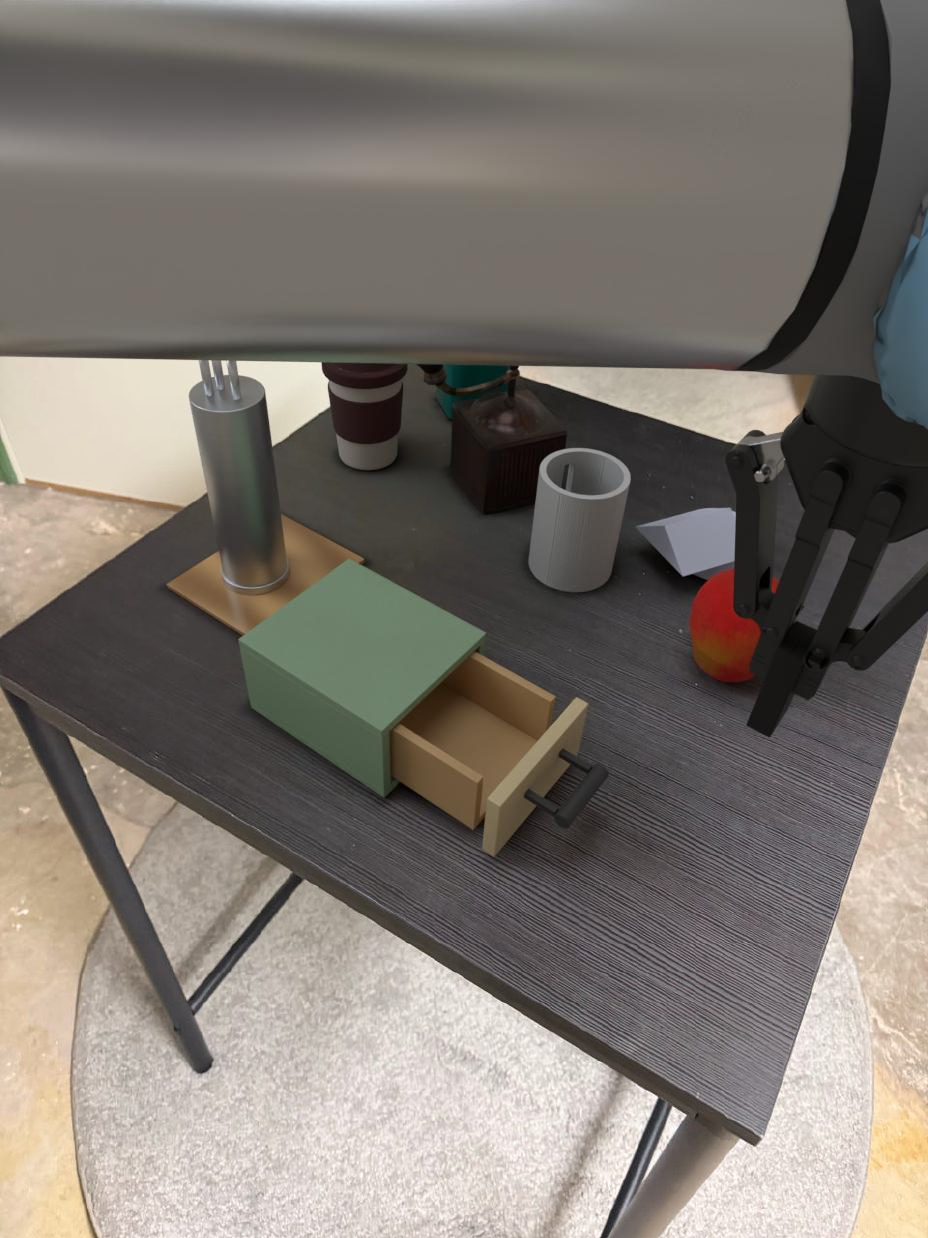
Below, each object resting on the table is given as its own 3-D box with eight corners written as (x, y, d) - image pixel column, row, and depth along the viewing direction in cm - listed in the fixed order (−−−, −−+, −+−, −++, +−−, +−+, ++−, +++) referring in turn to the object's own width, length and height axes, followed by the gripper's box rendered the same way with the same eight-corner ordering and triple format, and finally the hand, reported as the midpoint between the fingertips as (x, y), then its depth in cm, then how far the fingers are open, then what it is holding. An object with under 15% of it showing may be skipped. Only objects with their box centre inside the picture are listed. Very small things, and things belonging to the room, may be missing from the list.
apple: (755, 719, 80) (795, 625, 72) (663, 681, 83) (690, 587, 75) (780, 657, 86) (820, 564, 78) (693, 624, 89) (722, 531, 81)
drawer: (620, 780, 73) (634, 728, 68) (539, 888, 66) (549, 838, 61) (444, 677, 81) (446, 624, 76) (353, 763, 73) (349, 710, 69)
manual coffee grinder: (520, 450, 111) (533, 315, 99) (561, 497, 104) (581, 358, 92) (407, 474, 106) (406, 335, 94) (442, 526, 99) (446, 382, 87)
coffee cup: (377, 426, 114) (374, 316, 104) (423, 460, 109) (425, 348, 98) (313, 451, 109) (303, 338, 99) (358, 487, 104) (352, 372, 94)
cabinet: (481, 700, 80) (486, 632, 74) (384, 798, 72) (381, 731, 66) (353, 625, 87) (349, 557, 81) (251, 707, 79) (237, 639, 72)
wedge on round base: (676, 600, 92) (773, 570, 96) (690, 551, 87) (791, 521, 91) (629, 550, 97) (723, 524, 102) (640, 501, 93) (737, 476, 97)
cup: (576, 604, 91) (593, 510, 82) (511, 563, 95) (521, 470, 87) (627, 565, 95) (648, 474, 87) (563, 528, 100) (577, 438, 92)
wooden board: (255, 644, 84) (254, 640, 84) (167, 588, 90) (166, 583, 89) (364, 562, 94) (364, 558, 94) (279, 516, 99) (278, 512, 99)
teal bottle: (432, 394, 121) (435, 231, 106) (489, 387, 123) (500, 226, 108) (453, 430, 114) (460, 262, 99) (513, 422, 116) (528, 256, 101)
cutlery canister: (293, 590, 89) (263, 356, 72) (223, 599, 88) (175, 362, 70) (286, 548, 94) (257, 319, 76) (220, 556, 93) (175, 324, 75)
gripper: (1120, 357, 35) (896, 732, 51) (805, 270, 40) (694, 634, 56) (1089, 434, 30) (854, 818, 46) (739, 324, 36) (639, 703, 52)
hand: (766, 717), depth 51 cm, fingers closed
